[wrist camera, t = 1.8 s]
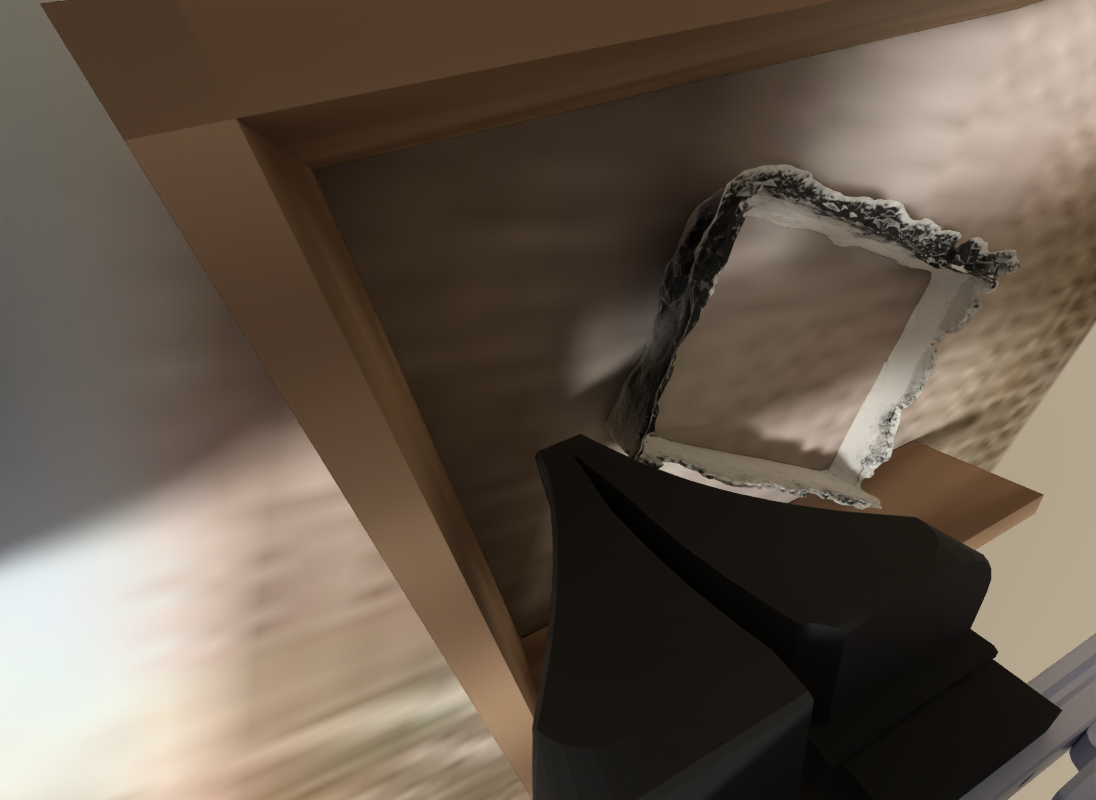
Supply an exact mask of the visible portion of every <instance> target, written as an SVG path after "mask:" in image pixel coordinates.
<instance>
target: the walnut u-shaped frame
mask: <svg viewBox="0 0 1096 800" xmlns="http://www.w3.org/2000/svg"><path fill="white" fill-rule="evenodd" d="M1038 1H1041V0H65V1H57V2H49V3H42V4H40V5H41V6H42V8H43V9H44V11H45V13H46V14H47V16H48V17H49V19H50V21H51V22H52V24H53V26H54V27H55V29H56V30H57V32H58V34H59V35H60V37H61V39H62V40H63V42H64V43H65V45H66V47H67V48H68V50H69V51H70V53H71V55H72V56H73V58H74V60H75V61H76V63H77V64H78V66H79V68H80V69H81V71H82V72H83V74H84V76H85V77H86V79H87V81H88V82H89V84H90V85H91V87H92V89H93V90H94V92H95V94H96V95H97V97H98V98H99V100H100V102H101V103H102V105H103V106H104V108H105V110H106V111H107V113H108V115H109V116H110V118H111V119H112V121H113V123H114V124H115V126H116V127H117V129H118V131H119V132H120V134H121V136H122V137H123V139H124V140H125V142H126V144H127V145H128V147H129V148H130V150H131V152H132V153H133V155H134V157H135V158H136V160H137V161H138V163H139V165H140V166H141V168H142V170H143V171H144V173H145V174H146V176H147V178H148V179H149V181H150V182H151V184H152V186H153V187H154V189H155V191H156V192H157V194H158V195H159V197H160V199H161V200H162V202H163V203H164V205H165V207H166V208H167V210H168V212H169V213H170V215H171V216H172V218H173V220H174V221H175V223H176V225H177V226H178V228H179V229H180V231H181V233H182V234H183V236H184V237H185V239H186V241H187V242H188V244H189V246H190V247H191V249H192V250H193V252H194V254H195V255H196V257H197V258H198V260H199V262H200V263H201V265H202V267H203V268H204V270H205V271H206V273H207V275H208V276H209V278H210V280H211V281H212V283H213V284H214V286H215V288H216V289H217V291H218V292H219V294H220V296H221V297H222V299H223V301H224V302H225V304H226V305H227V307H228V309H229V310H230V312H231V313H232V315H233V317H234V318H235V320H236V322H237V323H238V325H239V326H240V328H241V330H242V331H243V333H244V335H245V336H246V338H247V339H248V341H249V343H250V344H251V346H252V347H253V349H254V351H255V352H256V354H257V356H258V357H259V359H260V360H261V362H262V364H263V365H264V367H265V368H266V370H267V372H268V373H269V375H270V377H271V378H272V380H273V381H274V383H275V385H276V386H277V388H278V389H279V391H280V393H281V394H282V396H283V398H284V399H285V401H286V402H287V404H288V406H289V407H290V409H291V411H292V412H293V414H294V415H295V417H296V419H297V420H298V422H299V423H300V425H301V427H302V428H303V430H304V432H305V433H306V435H307V436H308V438H309V440H310V441H311V443H312V444H313V446H314V448H315V449H316V451H317V453H318V454H319V456H320V457H321V459H322V461H323V462H324V464H325V466H326V467H327V469H328V470H329V472H330V474H331V475H332V477H333V478H334V480H335V482H336V483H337V485H338V487H339V488H340V490H341V491H342V493H343V495H344V496H345V498H346V499H347V501H348V503H349V504H350V506H351V508H352V509H353V511H354V512H355V514H356V516H357V517H358V519H359V521H360V522H361V524H362V525H363V527H364V529H365V530H366V532H367V533H368V535H369V537H370V538H371V540H372V542H373V543H374V545H375V546H376V548H377V550H378V551H379V553H380V554H381V556H382V558H383V559H384V561H385V563H386V564H387V566H388V567H389V569H390V571H391V572H392V574H393V576H394V577H395V579H396V580H397V582H398V584H399V585H400V587H401V588H402V590H403V592H404V593H405V595H406V597H407V598H408V600H409V601H410V603H411V605H412V606H413V608H414V609H415V611H416V613H417V614H418V616H419V618H420V619H421V621H422V622H423V624H424V626H425V627H426V629H427V630H428V632H429V634H430V635H431V637H432V639H433V640H434V642H435V643H436V645H437V647H438V648H439V650H440V652H441V653H442V655H443V656H444V658H445V660H446V661H447V663H448V664H449V666H450V668H451V669H452V671H453V673H454V674H455V676H456V677H457V679H458V681H459V682H460V684H461V685H462V687H463V689H464V690H465V692H466V694H467V695H468V697H469V698H470V700H471V702H472V703H473V705H474V707H475V708H476V710H477V711H478V713H479V715H480V716H481V718H482V719H483V721H484V723H485V724H486V726H487V728H488V729H489V731H490V732H491V734H492V736H493V737H494V739H495V740H496V742H497V744H498V745H499V747H500V749H501V750H502V752H503V753H504V755H505V757H506V758H507V760H508V762H509V763H510V765H511V766H512V768H513V770H514V771H515V773H516V774H517V776H518V778H519V779H520V781H521V783H522V784H523V786H524V787H525V789H526V791H527V792H528V794H529V795H530V797H531V799H532V800H533V793H532V739H533V735H532V725H533V719H534V714H535V709H536V703H537V698H538V693H539V687H540V682H541V677H542V671H543V665H544V659H545V651H546V643H547V635H548V627H549V625H548V626H546V627H544V628H542V629H540V630H538V631H536V632H534V633H532V634H530V635H528V636H526V637H524V638H522V639H520V637H519V635H518V632H517V630H516V628H515V625H514V623H513V621H512V619H511V616H510V614H509V612H508V610H507V607H506V605H505V603H504V601H503V598H502V596H501V594H500V592H499V589H498V587H497V585H496V583H495V580H494V578H493V576H492V574H491V571H490V569H489V567H488V565H487V562H486V560H485V558H484V556H483V553H482V551H481V549H480V547H479V544H478V542H477V540H476V538H475V535H474V533H473V531H472V529H471V526H470V524H469V522H468V520H467V517H466V515H465V513H464V511H463V508H462V506H461V504H460V502H459V499H458V497H457V495H456V493H455V490H454V488H453V486H452V484H451V481H450V479H449V477H448V475H447V472H446V470H445V468H444V466H443V463H442V461H441V459H440V457H439V454H438V452H437V450H436V448H435V445H434V443H433V441H432V438H431V436H430V434H429V432H428V429H427V427H426V425H425V423H424V420H423V418H422V416H421V414H420V411H419V409H418V407H417V405H416V402H415V400H414V398H413V396H412V393H411V391H410V389H409V387H408V384H407V382H406V380H405V378H404V375H403V373H402V371H401V369H400V366H399V364H398V362H397V360H396V357H395V355H394V353H393V351H392V348H391V346H390V344H389V342H388V339H387V337H386V335H385V333H384V330H383V328H382V326H381V324H380V321H379V319H378V317H377V315H376V312H375V310H374V308H373V306H372V303H371V301H370V299H369V297H368V294H367V292H366V290H365V288H364V285H363V283H362V281H361V279H360V276H359V274H358V272H357V270H356V267H355V265H354V263H353V260H352V258H351V256H350V254H349V251H348V249H347V247H346V245H345V242H344V240H343V238H342V236H341V233H340V231H339V229H338V227H337V224H336V222H335V220H334V218H333V215H332V213H331V211H330V209H329V206H328V204H327V202H326V200H325V197H324V195H323V193H322V191H321V188H320V186H319V184H318V182H317V179H316V177H315V175H314V173H313V170H312V169H316V168H320V167H324V166H329V165H333V164H338V163H342V162H346V161H351V160H355V159H360V158H364V157H368V156H373V155H377V154H381V153H386V152H390V151H395V150H399V149H403V148H408V147H412V146H417V145H421V144H425V143H430V142H434V141H438V140H443V139H447V138H452V137H456V136H460V135H465V134H469V133H474V132H478V131H482V130H487V129H491V128H495V127H500V126H504V125H509V124H513V123H517V122H522V121H526V120H531V119H535V118H539V117H544V116H548V115H553V114H557V113H561V112H566V111H570V110H574V109H579V108H583V107H588V106H592V105H596V104H601V103H605V102H610V101H614V100H618V99H623V98H627V97H631V96H636V95H640V94H645V93H649V92H653V91H658V90H662V89H667V88H671V87H675V86H680V85H684V84H688V83H693V82H697V81H702V80H706V79H710V78H715V77H719V76H724V75H728V74H732V73H737V72H741V71H745V70H750V69H754V68H759V67H763V66H767V65H772V64H776V63H781V62H785V61H789V60H794V59H798V58H802V57H807V56H811V55H816V54H820V53H824V52H829V51H833V50H838V49H842V48H846V47H851V46H855V45H860V44H864V43H868V42H873V41H877V40H881V39H886V38H890V37H895V36H899V35H903V34H908V33H912V32H917V31H921V30H925V29H930V28H934V27H938V26H943V25H947V24H952V23H956V22H960V21H965V20H969V19H974V18H978V17H982V16H987V15H991V14H995V13H1000V12H1004V11H1009V10H1013V9H1017V8H1021V7H1024V6H1027V5H1030V4H1032V3H1035V2H1038ZM860 488H861V489H862V490H863V491H864V492H866V493H868V494H870V495H873V496H875V497H876V498H878V499H879V500H880V502H881V503H880V505H881V507H882V509H879V508H865V509H858V508H856V507H854V506H849V505H841V504H839V503H836V502H835V501H834V500H831V499H822V498H821V497H819V496H818V495H816V494H813V493H809V494H807V495H806V497H805V498H803V497H801V498H799V499H797V500H795V501H793V502H791V503H790V504H794V505H801V506H808V507H815V508H823V509H830V510H838V511H847V512H860V513H872V514H885V515H897V516H909V517H916V518H918V519H920V520H922V521H924V522H926V523H928V524H929V525H931V526H933V527H935V528H937V529H938V530H940V531H942V532H944V533H945V534H947V535H949V536H951V537H953V538H954V539H956V540H958V541H960V542H961V543H963V544H965V545H967V546H969V547H970V548H972V549H974V550H976V549H977V548H979V547H980V546H982V545H984V544H985V543H987V542H989V541H990V540H992V539H994V538H995V537H997V536H999V535H1000V534H1002V533H1004V532H1005V531H1007V530H1009V529H1010V528H1012V527H1013V526H1015V525H1017V524H1018V523H1020V522H1022V521H1023V520H1025V519H1027V518H1028V517H1030V516H1032V515H1033V514H1035V513H1036V510H1037V508H1038V506H1039V504H1040V501H1041V500H1042V497H1043V494H1041V493H1038V492H1036V491H1033V490H1031V489H1029V488H1026V487H1023V486H1021V485H1019V484H1016V483H1014V482H1012V481H1009V480H1007V479H1005V478H1002V477H1000V476H997V475H995V474H993V473H990V472H988V471H985V470H983V469H981V468H978V467H976V466H974V465H971V464H969V463H966V462H964V461H962V460H959V459H957V458H954V457H952V456H950V455H947V454H945V453H942V452H940V451H938V450H935V449H933V448H930V447H928V446H926V445H923V444H921V443H918V442H916V441H912V442H910V443H908V444H906V445H904V446H902V447H900V448H898V449H896V450H894V451H892V454H891V457H890V459H889V460H888V461H885V462H883V463H881V464H880V465H879V466H878V467H877V468H876V469H875V470H874V474H873V475H872V476H871V477H870V478H865V479H863V480H862V481H861V484H860Z"/></svg>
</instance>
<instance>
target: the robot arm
mask: <svg viewBox="0 0 1096 800" xmlns="http://www.w3.org/2000/svg"><path fill="white" fill-rule="evenodd" d="M535 460H536V463H537V466H538V469H539V473H540V476H541V479H542V483H543V486H544V489H545V492H546V496H547V499H548V502H549V506H550V511H551V523H552V537H553V576H552V596H551V609H550V619H549V627H548V635H547V643H546V651H545V659H544V665H543V671H542V677H541V682H540V687H539V693H538V698H537V703H536V709H535V714H534V719H533V725H532V735H533V739H532V793H533V800H1008V799H1009V798H1010V797H1011V796H1013V795H1014V794H1015V793H1016V792H1018V791H1019V790H1020V789H1021V788H1023V787H1024V786H1025V785H1026V784H1028V783H1029V782H1030V781H1031V780H1032V779H1034V778H1035V777H1036V776H1038V775H1039V774H1040V773H1041V772H1043V771H1044V770H1045V769H1046V768H1047V767H1049V766H1050V765H1051V764H1052V763H1054V762H1055V761H1056V760H1057V759H1059V758H1060V757H1061V756H1062V755H1063V754H1065V753H1066V752H1067V751H1069V750H1070V749H1071V750H1070V752H1069V753H1070V757H1071V760H1072V762H1073V763H1074V765H1075V766H1076V768H1077V769H1078V771H1079V772H1078V774H1076V775H1075V776H1074V777H1073V778H1072V779H1071V780H1070V781H1068V782H1067V783H1066V784H1065V785H1064V786H1063V787H1062V788H1061V789H1060V790H1059V791H1058V792H1057V793H1056V794H1055V796H1054V797H1053V798H1052V800H1096V633H1095V634H1094V635H1093V636H1091V637H1090V638H1088V639H1087V640H1086V641H1084V642H1083V643H1082V644H1080V645H1079V646H1077V647H1076V648H1075V649H1073V650H1072V651H1071V652H1069V653H1068V654H1066V655H1065V656H1064V657H1062V658H1061V659H1060V660H1058V661H1057V662H1056V663H1054V664H1053V665H1051V666H1050V667H1049V668H1047V669H1046V670H1045V671H1043V672H1042V673H1040V674H1039V675H1038V676H1036V677H1035V678H1034V679H1032V680H1031V681H1029V682H1028V683H1027V684H1026V683H1025V682H1023V681H1022V680H1021V679H1019V678H1018V677H1016V676H1015V675H1013V674H1012V673H1011V672H1009V671H1008V670H1007V669H1006V668H1004V667H1003V666H1001V665H1000V664H999V663H997V662H996V661H994V660H993V658H995V657H996V655H997V653H998V651H997V649H996V648H995V647H994V645H992V644H991V643H990V642H988V641H987V640H985V639H984V638H982V637H981V636H980V635H978V634H977V633H975V632H974V631H973V630H971V629H970V628H971V626H972V624H973V622H974V620H975V617H976V615H977V613H978V611H979V608H980V606H981V604H982V602H983V600H984V597H985V595H986V593H987V590H988V587H989V584H990V581H991V567H990V564H989V562H988V560H987V559H986V558H985V556H984V555H983V554H981V553H979V552H977V551H976V550H974V549H972V548H970V547H969V546H967V545H965V544H963V543H961V542H960V541H958V540H956V539H954V538H953V537H951V536H949V535H947V534H945V533H944V532H942V531H940V530H938V529H937V528H935V527H933V526H931V525H929V524H928V523H926V522H924V521H922V520H920V519H918V518H916V517H909V516H897V515H885V514H872V513H860V512H847V511H838V510H830V509H823V508H815V507H808V506H801V505H794V504H788V503H782V502H776V501H771V500H766V499H761V498H756V497H752V496H747V495H742V494H738V493H733V492H729V491H725V490H721V489H718V488H714V487H711V486H707V485H704V484H700V483H697V482H693V481H690V480H687V479H684V478H681V477H678V476H675V475H673V474H670V473H667V472H664V471H662V470H659V469H656V468H654V467H651V466H649V465H646V464H644V463H641V462H639V461H637V460H635V459H632V458H630V457H628V456H625V455H623V454H621V453H619V452H617V451H615V450H613V449H611V448H608V447H606V446H604V445H602V444H600V443H598V442H596V441H594V440H592V439H590V438H588V437H586V436H584V435H582V434H579V435H577V436H574V437H572V438H569V439H567V440H564V441H562V442H559V443H557V444H555V445H552V446H550V447H547V448H545V449H542V450H540V451H538V452H537V453H536V455H535Z"/></svg>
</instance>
